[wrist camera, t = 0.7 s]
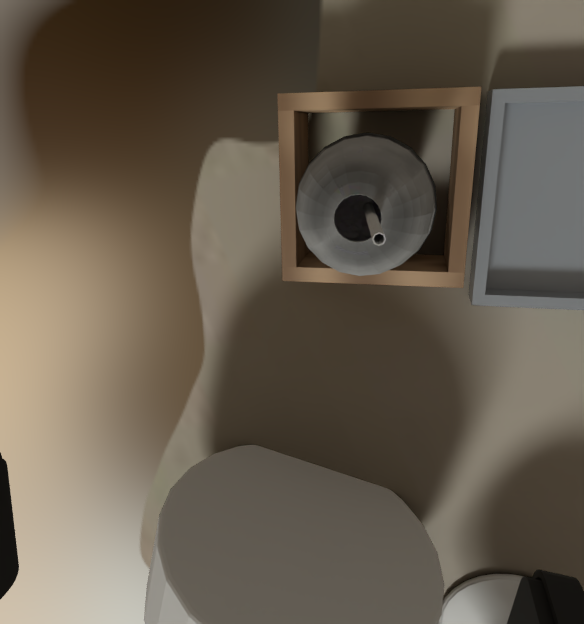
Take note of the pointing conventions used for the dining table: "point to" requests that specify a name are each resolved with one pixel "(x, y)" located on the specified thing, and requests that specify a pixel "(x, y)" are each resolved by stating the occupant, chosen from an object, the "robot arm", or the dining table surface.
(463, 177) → the holder
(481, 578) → the chalice
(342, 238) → the beverage cup
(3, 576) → the robot arm
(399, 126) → the dining table surface
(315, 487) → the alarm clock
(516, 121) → the tray
